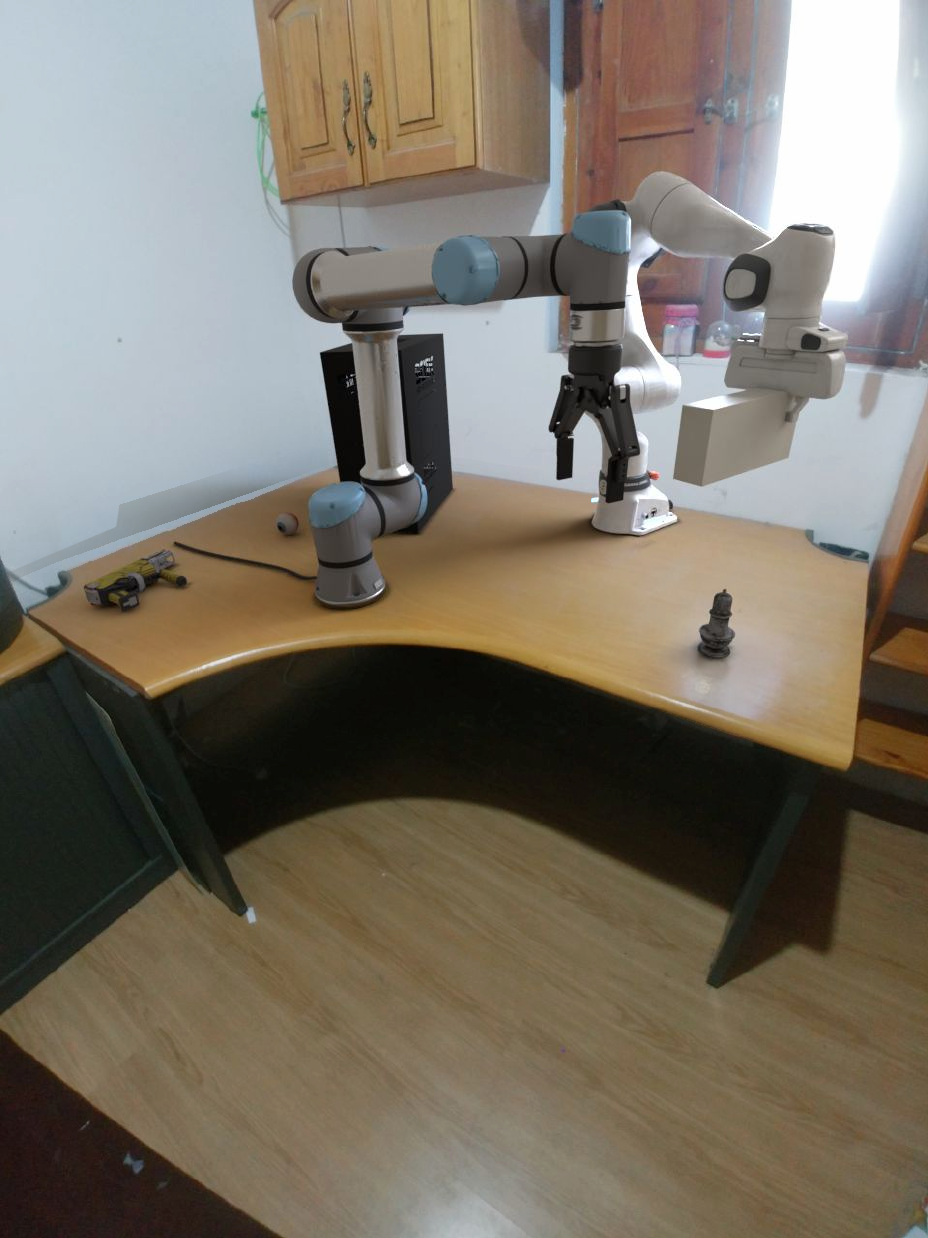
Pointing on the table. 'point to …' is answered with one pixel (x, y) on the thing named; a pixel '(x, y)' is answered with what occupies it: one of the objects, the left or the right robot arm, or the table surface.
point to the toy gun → (132, 581)
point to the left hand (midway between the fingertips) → (587, 489)
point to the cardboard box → (420, 415)
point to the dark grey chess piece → (717, 628)
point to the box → (733, 435)
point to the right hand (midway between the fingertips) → (771, 418)
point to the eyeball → (287, 523)
